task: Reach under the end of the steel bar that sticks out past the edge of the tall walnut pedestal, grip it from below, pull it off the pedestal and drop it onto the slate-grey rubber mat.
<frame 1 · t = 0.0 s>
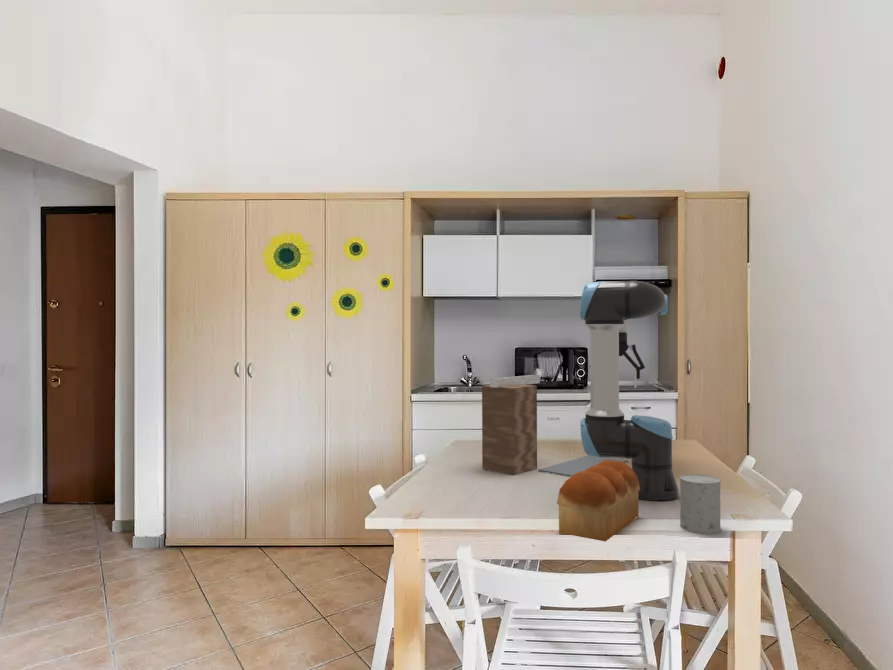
hand: (617, 387, 242), 28 cm above the table, tool pointing down, fingers open, 13 cm apart
steel bar: (516, 385, 231), point 30 cm above the table, touching walnut pedestal
bread: (600, 525, 162), on the table
walnut pedestal: (509, 469, 228), on the table
rubber mat: (584, 466, 232), on the table
concrete cylinder: (700, 528, 159), on the table
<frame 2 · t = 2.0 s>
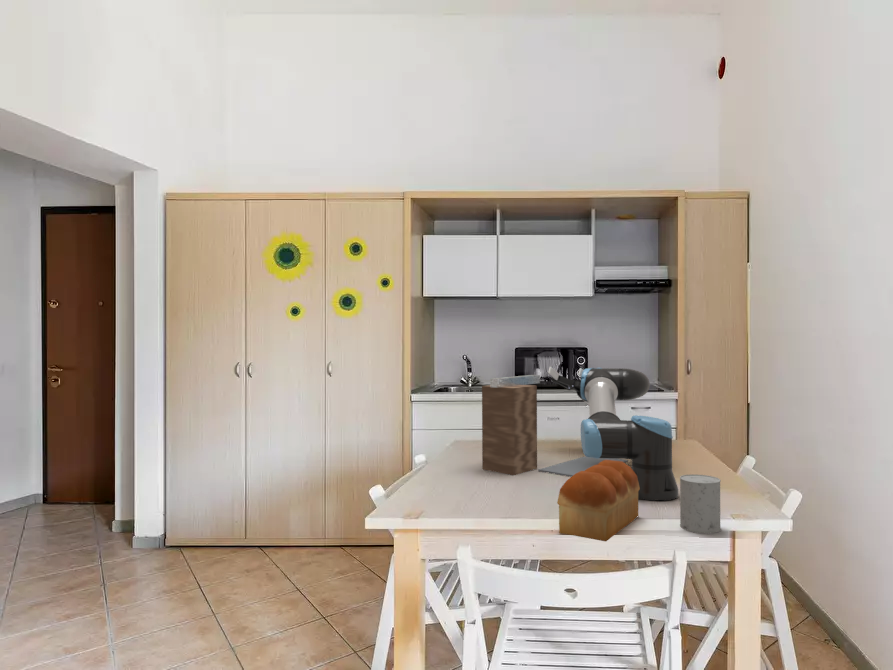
hand: (564, 370, 247), 34 cm above the table, tool pointing upward, fingers open, 13 cm apart
nothing on the table moved.
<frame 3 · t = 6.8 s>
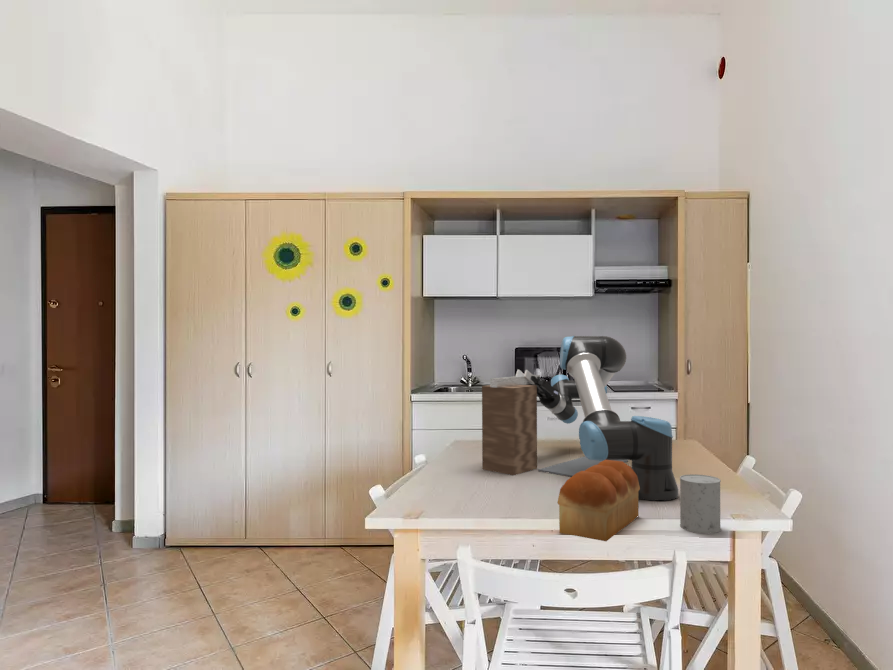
hand: (521, 373, 233), 34 cm above the table, tool pointing upward, fingers closed on steel bar, 3 cm apart
steel bar: (516, 385, 231), point 30 cm above the table, touching gripper, walnut pedestal
everything else where it was.
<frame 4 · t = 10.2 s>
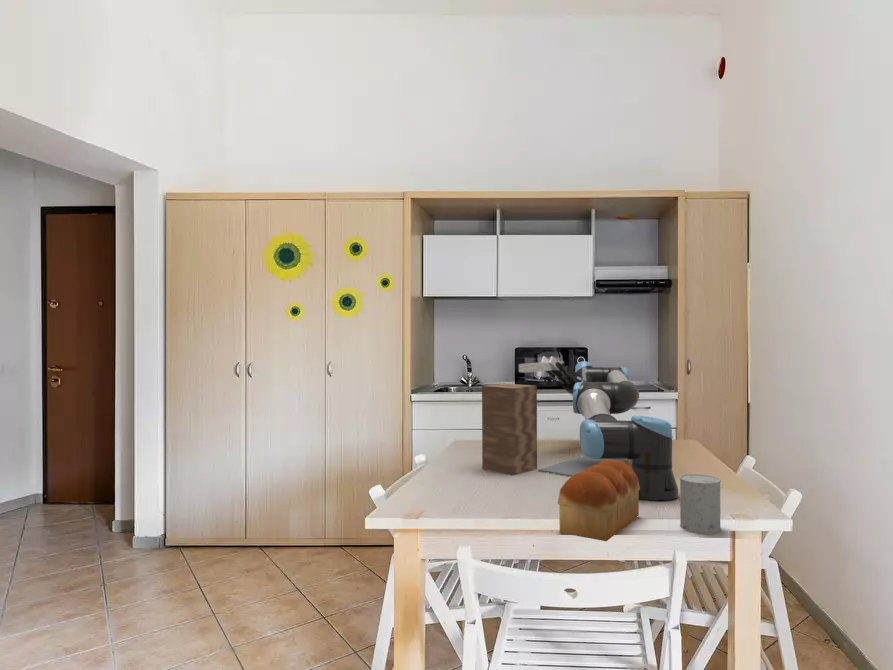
hand: (546, 359, 246), 39 cm above the table, tool pointing upward, fingers closed on steel bar, 3 cm apart
steel bar: (542, 370, 244), point 34 cm above the table, touching gripper
everything else where it was.
when the fingers open (26 cm above the table, at t = 13.7 s): steel bar drops 21 cm, resting on rubber mat.
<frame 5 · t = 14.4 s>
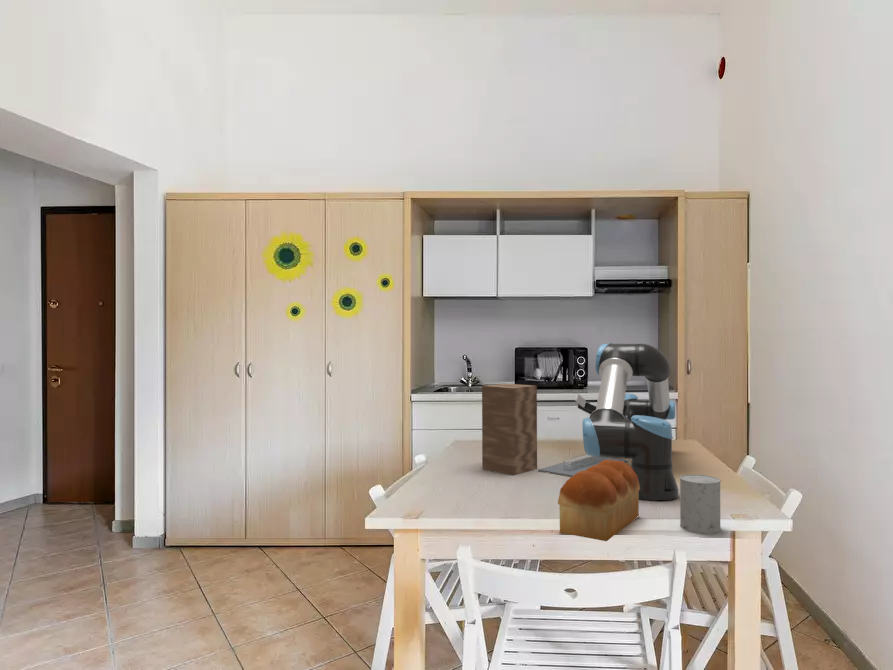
hand: (592, 398, 236), 25 cm above the table, tool pointing upward, fingers open, 13 cm apart
steel bar: (585, 464, 232), point 1 cm above the table, touching rubber mat
everything else where it was.
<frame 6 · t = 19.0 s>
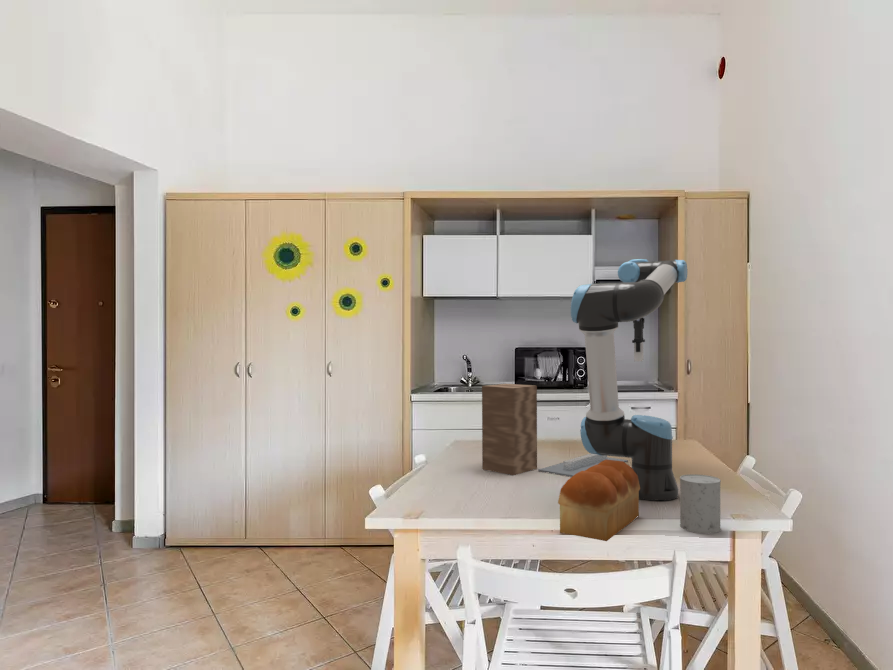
hand: (638, 360, 231), 39 cm above the table, tool pointing down, fingers open, 13 cm apart
nothing on the table moved.
at the end: steel bar 0.5 cm from the rubber mat (horizontally); steel bar point 0.6 cm above the table; the gripper is holding nothing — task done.
